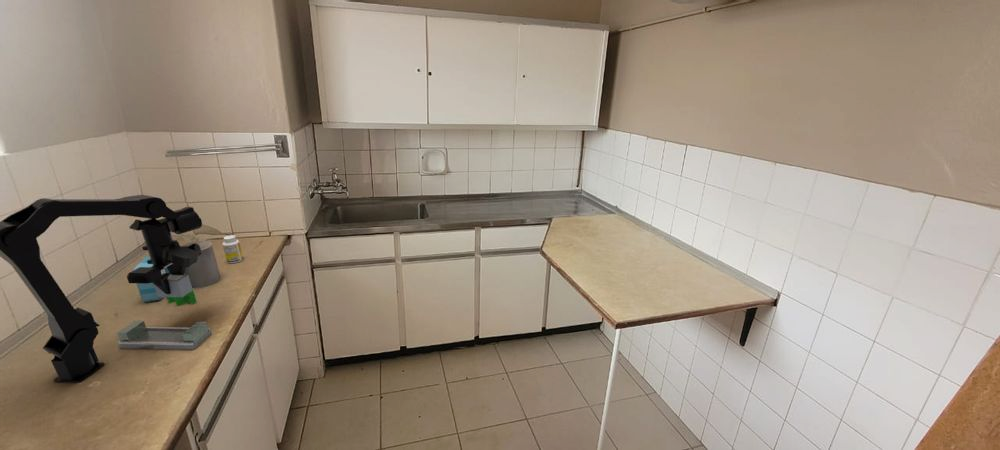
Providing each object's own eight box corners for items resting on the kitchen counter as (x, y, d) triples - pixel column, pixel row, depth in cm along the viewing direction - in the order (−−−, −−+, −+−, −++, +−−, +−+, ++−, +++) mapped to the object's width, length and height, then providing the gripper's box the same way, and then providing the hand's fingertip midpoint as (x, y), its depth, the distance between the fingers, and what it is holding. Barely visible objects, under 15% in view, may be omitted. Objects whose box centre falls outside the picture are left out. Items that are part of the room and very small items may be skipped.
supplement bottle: (236, 257, 161) (231, 233, 157) (246, 259, 159) (241, 235, 155) (223, 262, 156) (217, 238, 152) (233, 264, 154) (227, 240, 151)
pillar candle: (187, 279, 142) (175, 241, 137) (220, 272, 148) (210, 235, 143) (188, 291, 135) (175, 251, 130) (222, 282, 141) (211, 244, 135)
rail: (193, 349, 106) (189, 335, 105) (119, 348, 106) (114, 334, 105) (211, 334, 113) (207, 320, 111) (142, 332, 113) (137, 319, 111)
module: (182, 297, 113) (177, 280, 111) (158, 296, 113) (152, 280, 111) (192, 290, 116) (188, 274, 114) (169, 289, 116) (164, 273, 115)
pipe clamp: (163, 301, 129) (158, 288, 128) (175, 296, 132) (171, 283, 131) (184, 308, 125) (180, 296, 123) (197, 303, 128) (193, 290, 127)
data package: (160, 301, 129) (149, 268, 125) (143, 304, 127) (131, 270, 123) (173, 284, 139) (164, 253, 135) (158, 286, 138) (147, 255, 134)
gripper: (160, 254, 100) (177, 308, 105) (211, 228, 117) (224, 275, 123) (116, 254, 100) (135, 307, 105) (174, 228, 117) (188, 275, 123)
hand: (174, 290), depth 114 cm, fingers closed on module, 4 cm apart
